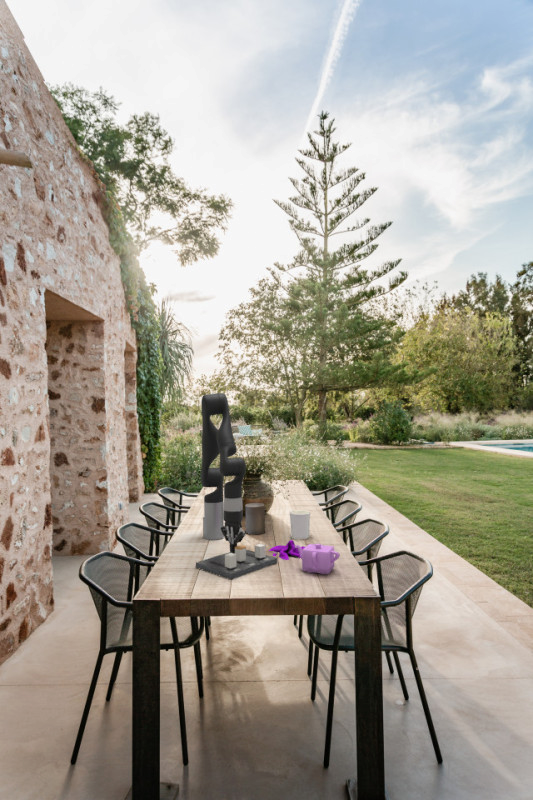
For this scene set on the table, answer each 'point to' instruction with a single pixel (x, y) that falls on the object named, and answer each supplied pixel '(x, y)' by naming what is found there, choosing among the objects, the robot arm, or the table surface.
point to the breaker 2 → (260, 551)
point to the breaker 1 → (230, 560)
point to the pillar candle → (255, 518)
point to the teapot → (318, 558)
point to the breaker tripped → (240, 553)
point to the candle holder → (300, 524)
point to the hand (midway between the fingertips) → (233, 552)
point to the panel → (242, 568)
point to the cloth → (286, 550)
